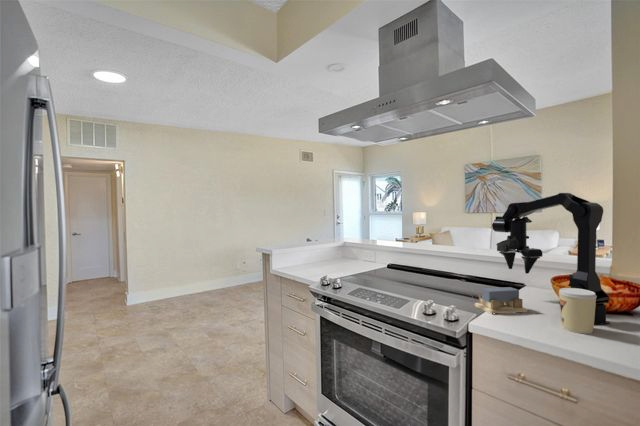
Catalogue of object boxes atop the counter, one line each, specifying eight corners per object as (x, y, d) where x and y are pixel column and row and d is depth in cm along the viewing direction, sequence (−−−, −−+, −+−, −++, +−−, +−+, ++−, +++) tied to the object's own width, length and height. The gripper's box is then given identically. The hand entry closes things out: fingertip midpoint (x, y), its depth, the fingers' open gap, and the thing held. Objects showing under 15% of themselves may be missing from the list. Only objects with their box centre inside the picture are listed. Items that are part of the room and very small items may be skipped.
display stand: (527, 312, 118) (527, 299, 118) (491, 314, 116) (491, 302, 116) (507, 304, 128) (507, 292, 128) (475, 306, 126) (474, 294, 126)
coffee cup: (561, 321, 108) (561, 286, 108) (598, 328, 101) (598, 290, 101) (556, 329, 101) (555, 291, 101) (594, 337, 95) (594, 297, 94)
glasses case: (519, 300, 120) (518, 290, 120) (489, 302, 119) (489, 291, 119) (510, 297, 125) (510, 287, 125) (481, 298, 123) (481, 288, 123)
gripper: (485, 232, 140) (485, 267, 141) (517, 235, 122) (517, 276, 122) (508, 231, 142) (509, 266, 142) (543, 235, 123) (543, 275, 124)
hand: (518, 271), depth 132 cm, fingers open, 9 cm apart
